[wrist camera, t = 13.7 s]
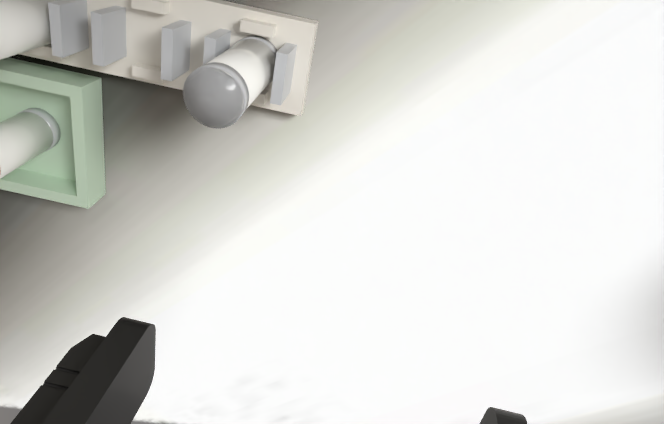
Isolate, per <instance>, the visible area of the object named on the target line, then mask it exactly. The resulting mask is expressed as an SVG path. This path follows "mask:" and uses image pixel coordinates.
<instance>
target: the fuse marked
mask: <svg viewBox="0 0 664 424" xmlns="http://www.w3.org/2000/svg"><path fill="white" fill-rule="evenodd" d="M60 137H61V131H60V127H59V125H58V123H57V121H56V120H55V119H54V117H53V116H52V115H51V114H49V113H48V112H47V111H45V110H43V109H40V108H28V109H26V110H24V111H21V112H19V113H18V114H16V115H15V116H12V117H10V118H8V119H6V120H4V121H2V122H0V179H1V178H2V177H4V176H5V175H7V174H9V173H10V172H12V171H14V170H15V169H17V168H19V167H20V166H22V165H23V164H25V163H27V162H28V161H30V160H32V159H33V158H35V157H37V156H38V155H40V154H41V153H43V152H45V151H48V150H49V149H51V148H52V147H54V146H56V145H57V144H58V142H59V141H60Z"/></svg>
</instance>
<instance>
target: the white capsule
mask: <svg viewBox="0 0 664 424" xmlns="http://www.w3.org/2000/svg"><path fill="white" fill-rule="evenodd" d="M276 52H277V49H276V47H275V46H274V45H273V44H272V43H271V42H270V41H269V40H267V39H266V38H264V37H261V36H256V35H251V36H247V37H244V38H243V39H241V40H240V41H238V42H237V43H236V44H234V45H233V46H232V47H230V48H229V49H227V50H226V51H224V52H223V53H221V54H220V55H218V56H217V57H215V58H214V59H212V60H211V61H209V62H208V63H206V64H204V65H202V66H200V67H199V68H197V69H196V70H194V71H193V72H192V73H191V74H190V75H189V76H188V77H187V79H186V81H185V83H184V87H183V99H184V103H185V105H186V108H187V109H188V111H189V113H190V114H191V115H192V116H193V118H195V119H196V120H197V121H198V122H200V123H201V124H203V125H205V126H207V127H211V128H225V127H228V126H231V125H232V124H234V123H235V122H236V121H237V120H238V119H239V118H240V117H241V116H242V115H243V114H244V112H245V111H246V109H247V108H248V107H249V106H250V104H251V103H252V102H253V101H254V100H255V99H256V98H257V96H258V95H259V94H260V93H261V92H262V91H263V90H264V89H265V87H266V86H267V85H268V84H270V83H271V82H272V81H273V75H274V67H275V59H276Z"/></svg>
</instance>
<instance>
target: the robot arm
mask: <svg viewBox="0 0 664 424" xmlns="http://www.w3.org/2000/svg"><path fill="white" fill-rule="evenodd" d="M155 332H156V330H155V325H154V324H150V323H146V322H141V321H137V320H133V319H129V318H125V317H123V318H121V319H119V320H118V322H117V323H116V324H115V325H114V327H113V328H112V329H111V331H110V332H109V334H108V335H107V336H106V337H103V336H99V335H95V334H92V335H90V336H89V337H87V338H86V339H84V340H83V341H81V342H80V343H78V344H77V345H75V346H73V347H72V348H71V349H70V350H69V351H68V353H67V354H66V355H65V356H64V358H63V359H62V360H61V361H60V363H59V364H58V365H57V367H56V370H53V371H52V373H51V374H50V375H49V376H48V378H47V379H46V380H45V381H44V385H43V386H42V385H41V386H40V388H39V389H38V390H37V391H36V393H35V394H34V395H33V396H32V398H31V399H30V400H29V401H28V403H27V404H26V405H25V406H24V408H23V409H22V410H21V411H20V413H19V414H18V415H17V416H16V418H15V419H14V420H13V421H12V423H11V424H131V422H132V420H133V418H134V416H135V415H136V413H137V411H138V409H139V407H140V406H141V404H142V402H143V400H144V399H145V397H146V395H147V393H148V391H149V388H150V386H151V383H152V379H153V375H154V370H155ZM480 424H527V421H526V419H525V417H524V416H523V415H521V414H517V413H513V412H509V411H505V410H501V409H497V408H493V407H490V408H488V409H487V411H486V413H485V415H484V416H483V418H482V420H481V422H480Z"/></svg>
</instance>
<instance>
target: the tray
mask: <svg viewBox="0 0 664 424" xmlns="http://www.w3.org/2000/svg"><path fill="white" fill-rule="evenodd" d="M28 108H40V109H43V110H45V111H47V112H48V113H49V114H51V115H52V116H53V117H54V119H55V120H56V121H57V123H58V125H59V127H60V131H61V137H60V141H59V142H58V144H57V145H56V146H54V147H52V148H51V149H49V150H48V151H45V152H43V153H41V154H40V155H38V156H37V157H35V158H33V159H32V160H30V161H28V162H27V163H25V164H23V165H22V166H20V167H19V168H17V169H15V170H14V171H12V172H10V173H9V174H7V175H5V176H4V177H2V178H1V179H0V189H2V190H7V191H11V192H16V193H20V194H25V195H29V196H33V197H38V198H42V199H47V200H51V201H56V202H60V203H65V204H69V205H74V206H78V207H82V208H87V209H89V208H90V207H91V206H92V205H94V204H95V203H96V202H97V201H98V200H99V199H100V198H101V197H103V196H104V195H105V194H106V187H105V160H104V133H103V106H102V79H101V78H100V77H96V76H91V75H86V74H82V73H77V72H73V71H68V70H64V69H59V68H55V67H50V66H46V65H41V64H36V63H32V62H27V61H23V60H18V59H14V58H9V57H7V58H4V59H1V60H0V122H2V121H4V120H6V119H8V118H10V117H12V116H15V115H16V114H18V113H19V112H21V111H24V110H26V109H28Z"/></svg>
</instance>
